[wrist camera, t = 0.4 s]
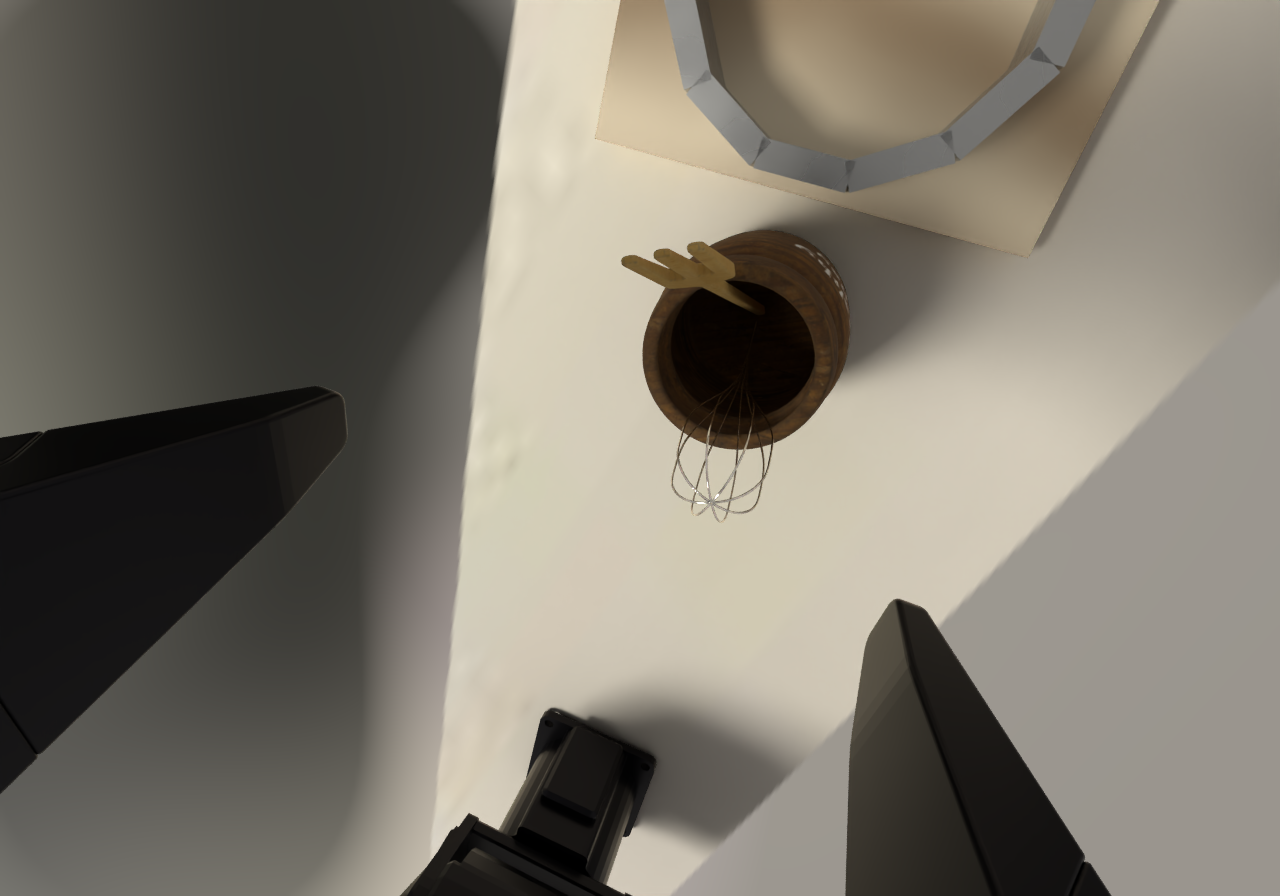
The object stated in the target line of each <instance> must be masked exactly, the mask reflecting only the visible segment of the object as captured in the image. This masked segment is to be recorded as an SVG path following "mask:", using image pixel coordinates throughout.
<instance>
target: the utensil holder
mask: <svg viewBox="0 0 1280 896" xmlns="http://www.w3.org/2000/svg"><path fill="white" fill-rule="evenodd" d="M687 250H688V252H689V253H690V254H691V255H692V256H693V257H692V258H691V259H687V258H685V257H683V256H682V255H680V254H678V253H676V252H674V251H672V250H670V249H659V250H656V251H655V252H654V258H655V259H656V260H657V261H659V262H660V263H662V264H664V265H665V266H667V267H668V268H669V269H668V268H665V267H663V266H660V265H658V264H655V263H653V262H651V261H648V260H646V259H643V258H641V257H638V256H636V255H629V256H625V257H623V258H622V260H621V262H622V265H623V266H624V267H626V268H628V269H630V270H632V271H634V272H636V273H638V274H640V275H642V276H644V277H646V278H648V279H650V280H652V281H654V282H656V283H658V284H660V285H662V286H664V287H666V288H665V289H664V291H663V293H662V295H661V297H660V299H659V301H658V303H657V305H656V306H655V308H654V310H653V312H652V315H651V317H650V320H649V322H648V325H647V328H646V332H645V336H644V341H643V368H644V374H645V378H646V382H647V385H648V387H649V390H650V392H651V395H652V397H653V399H654V400H655V402H656V404H657V405H658V407H659V408H660V410H661V411H662V412H663V414H664V415H665V416H666V417H667V418H668V419H669V420H670V421H671V422H672V423H673V424H674V425H675V426H676V427H677V428H678V429H680V430H681V431H682V433H681V436H680V439H679V443H678V447H677V459H676V462H675V465H674V469H673V472H672V477H671V486H672V489H673V491H674V492H675V494H676V495H677V496H678V497H680V498H681V499H683V500H685V501H688V502H692V504H691V514H692V515H693V516H698V515H700V514H701V513H703V512H704V511H705V510H706V509H707V508H708V507H709V506H710V505H711V507H712V511H713V514H714V516H715V518H716V520H717V521H718V522H719V523H723V522H724V521H725V520H726V518H727V515H728V512H729V513H734V514H744V513H748V512H750V511H752V510H753V509H754V508H755V507H756V506H757V504H758V502H759V499H760V495H761V490H762V485H763V481H764V479H765V478H766V476H767V473H768V470H769V466H770V462H771V457H772V451H773V443H775V442H777V441H780V440H782V439H784V438H786V437H787V436H789V435H791V434H792V433H794V432H795V431H796V430H798V429H799V428H800V427H801V426H802V425H804V424H805V423H806V422H807V421H808V420H809V419H810V418H811V416H812V415H813V414H814V413H815V412H816V411H817V409H818V408H819V407H820V405H821V404H822V402H823V401H824V399H825V398H826V397H827V396H828V394H829V393H830V392H831V390H832V389H833V387H834V386H835V384H836V382H837V380H838V379H839V377H840V374H841V372H842V370H843V367H844V364H845V361H846V358H847V354H848V349H849V342H850V312H849V304H848V298H847V294H846V290H845V287H844V285H843V282H842V280H841V278H840V275H839V274H838V272H837V270H836V269H835V267H834V266H833V264H832V263H831V262H830V260H829V259H828V258H827V257H826V256H825V255H824V254H823V253H822V252H821V251H820V250H819V249H817V248H816V247H815V246H813V245H812V244H810V243H809V242H807V241H805V240H803V239H801V238H799V237H797V236H794V235H791V234H788V233H784V232H779V231H770V230H759V231H750V232H745V233H741V234H737V235H734V236H731V237H728V238H726V239H724V240H721V241H719V242H717V243H714V244H713V245H711V246H708V245H707V244H705V243H704V242H694V243H691V244H689V245H688V246H687ZM683 432H684V433H685V434H687V435H688V437H687V438H686V440H685V441H684V443H683V444H682V447H681V449H680V451H679V447H680V443H681V439H682V436H683ZM689 437H692V438H694V439H696V440H698V441H700V442H703V443H705V444H706V458H705V461H704V463H703V466H702V469H701V472H700V475H699V478H698V481H697V485H696V488H694V487H693V485H692V484H691V483H690V482H689V480H688V479H687V477H686V476H685V474H684V472H683V470H682V468H681V464H680V461H679V456H680V453H681V451H682V448H683V446H684V444H685V443H686V441H687V440H688V438H689ZM770 444H771V452H770V457H769V462H768V466H767V470H766V473H765V475H764V472H765V461H764V453H763V448H762V447H763V446H767V445H770ZM708 445H711V447H710V449H709V451H708ZM713 446H715V447H719V448H725V449H737V452H736V464H735V469H734V470H733V472H732V474H731V476H730V477H729V479H728V480H727V482H726V483H725V485H724V486H723V488H722V489H721V490H720V492H719V493H718V494H717V495H716V497H715V498H714V499H713V500H712V498H711V493H710V487H709V479H708V456H709V453H710V451H711V449H712V447H713ZM759 447H760V448H761V452H762V458H763V473H762V480H761V481H760V482H759V483H758V484H757V485H756V486H755V487H754V488H752V489H751V490H749V491H748V492H746V493H744V494H742V495H740V496H738V497H735V498H732V494H733V490H734V484H735V478H736V471H737V468H738V466H739V464H740V462H741V460H742V457H743V455H744V453H745V450H746V449H753V448H759ZM742 449H744V450H743V452H742V455H741V457H740V459H739V461H738V450H742ZM737 461H738V463H737ZM677 462H678V465H679V468H680V470H681V473H682V474H683V476H684V478H685V480H686V481H687V482H688V484H689V485H690V486H691V487H692V489H693V490H694V491H695V492H694V496H693V500H688V499H686V498H684V497H682V496H680V495H679V494H678V493H677V492H676V490H675V489H674V486H673V476H674V472H675V469H676V465H677ZM705 463H706V480H707V488H708V494H709V499H710V500H709V499H707V498H706V497H704V496H703V495H702V494H701V493H699V492H698V491H697V488H698V484H699V481H700V477H701V474H702V471H703V468H704V466H705ZM733 475H734V480H733V486H732V490H731V495H730V499H728V500H722V501H715V500H716V499H717V497H718V496H719V495H720V494H721V492H722V491H723V490H724V488H725V487H726V486H727V484H728V483H729V481H730V480H731V478H732V476H733ZM760 484H761V486H760V490H759V495H758V499H757V502H756V504H755V505H754V506H753V507H752V508H751V509H749V510H747V511H744V512H734V511H730V510H729V507H730V503H731V501H732V500H735V499H738V498H741V497H743V496H745V495H747V494H749V493H750V492H752V491H753V490H754V489H756V488H757V487H758V486H759V485H760ZM696 493H698V494H699V495H700V496H701V497H702V498H704V499H705V500H706V501H708V502H698V501H694V499H695V495H696ZM728 501H729V504H728V508H727V509H724V508H722V507H720V506H718V505H716V504H715V503H723V502H728ZM711 502H712V503H711ZM693 503H698V504H708V505H707V506H706V507H705V508H704V509H703V510H702V511H701V512H699V513H697V514H694V513H693ZM713 505H714V506H716V507H718V508H720V509H722V510H724V511H727V512H726V515H725V518H724V519H723V520H722V521H720V520H719V519H718V518H717V516H716V513H715V510H714V507H713Z"/></svg>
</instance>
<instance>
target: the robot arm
mask: <svg viewBox="0 0 1280 896" xmlns="http://www.w3.org/2000/svg"><path fill="white" fill-rule="evenodd" d="M347 436H348V434H347V422H346V411H345V402H344V399H343V397H342V395H340V394H339V393H338V392H335V391H332V390H330V389H327V388H324V387H321V386H311V387H304V388H298V389H292V390H286V391H280V392H274V393H268V394H263V395H257V396H250V397H244V398H238V399H232V400H226V401H220V402H214V403H208V404H202V405H196V406H190V407H184V408H178V409H172V410H166V411H160V412H154V413H147V414H141V415H136V416H129V417H123V418H117V419H111V420H106V421H99V422H93V423H87V424H82V425H75V426H69V427H63V428H58V429H51V430H47V431H45V432H44V433H42V432H39V431H38V432H32V433H26V434H20V435H14V436H8V437H2V438H0V794H1V793H2V792H3V791H4V790H5V789H6V788H7V787H8V786H9V785H10V784H11V783H12V782H13V781H14V780H15V779H16V778H17V777H18V776H19V775H20V774H21V773H22V772H23V771H25V770H26V769H27V767H28V766H30V765H31V764H32V763H33V762H34V760H36V759H37V757H38V755H37V754H41V753H43V752H44V751H45V750H46V748H48V747H49V746H50V745H51V744H52V743H53V742H54V741H55V740H56V739H57V738H58V737H59V736H60V735H61V734H62V733H63V732H64V731H65V730H66V729H67V728H68V727H69V726H70V725H72V724H73V723H74V722H75V721H76V720H77V719H78V718H79V717H80V716H81V715H82V714H83V713H84V712H85V711H86V710H87V709H88V708H89V707H90V706H91V705H92V704H93V703H94V702H95V701H96V700H97V699H98V698H99V697H100V696H101V695H102V694H103V693H104V692H106V691H107V690H108V689H109V688H110V687H111V686H112V685H113V684H114V683H115V682H116V681H117V680H118V679H119V678H120V677H121V676H122V675H123V674H124V673H125V672H126V671H127V670H128V669H129V668H130V667H131V666H132V665H133V664H134V663H136V662H137V661H138V660H139V659H140V658H141V657H142V656H143V655H144V654H145V653H146V652H147V651H148V650H149V649H150V648H151V647H152V646H153V645H154V644H155V643H156V642H157V641H158V640H159V639H160V638H161V637H162V636H163V635H164V634H165V633H166V632H168V631H169V630H170V629H171V627H173V626H174V625H175V624H176V623H177V622H178V621H179V620H180V619H181V618H182V617H183V616H184V615H185V614H186V613H187V612H188V611H189V610H190V609H191V608H192V607H193V606H194V605H195V604H196V603H197V602H198V601H199V600H201V599H202V598H203V597H204V596H205V595H206V594H207V593H208V592H209V591H210V590H211V589H212V588H213V587H214V586H215V585H216V584H217V583H218V582H219V581H220V580H221V579H222V578H223V577H224V576H225V575H226V574H227V573H228V572H229V571H230V570H232V568H234V567H235V566H236V565H237V564H238V563H239V562H240V561H241V560H242V559H243V558H244V557H245V556H246V555H247V554H248V553H249V552H250V551H251V550H252V549H253V548H254V547H255V546H256V545H257V544H258V543H259V542H260V541H261V540H262V539H264V538H265V537H266V536H267V535H268V534H269V532H271V531H272V530H273V529H274V528H275V527H276V526H277V525H278V524H279V523H280V522H281V521H282V520H283V519H284V518H285V517H286V516H287V514H288V513H289V512H290V511H291V510H292V509H293V508H294V506H295V505H296V504H297V503H298V502H299V501H300V500H301V498H302V497H303V496H304V495H305V493H306V492H307V491H308V490H309V489H310V488H311V486H312V485H313V484H314V483H315V482H316V480H317V479H318V478H319V477H320V475H322V473H323V472H324V471H325V470H326V468H327V467H328V466H329V465H330V464H331V462H332V461H333V460H334V459H335V458H336V456H337V455H338V454H339V453H340V452H341V451H342V449H343V448H344V446H345V444H346V441H347ZM656 763H657V762H656V759H655V758H654V757H653V756H651V755H650V754H648V753H645V752H643V751H641V750H639V749H636V748H634V747H632V746H630V745H627V744H625V743H623V742H621V741H618V740H616V739H614V738H612V737H609V736H607V735H605V734H603V733H601V732H598V731H596V730H594V729H592V728H589V727H587V726H585V725H583V724H580V723H578V722H576V721H574V720H571V719H569V718H567V717H565V716H562V715H560V714H558V713H556V712H553V711H546V712H545V713H544V714H543V716H542V718H541V720H540V723H539V728H538V732H537V736H536V740H535V744H534V748H533V752H532V756H531V760H530V765H529V769H528V773H527V777H526V780H525V782H524V784H523V785H522V787H521V789H520V791H519V793H518V795H517V797H516V799H515V800H514V802H513V804H512V806H511V808H510V810H509V812H508V813H507V815H506V817H505V819H504V821H503V823H502V825H501V827H500V828H499V830H497V829H495V828H493V827H491V826H489V825H487V824H485V823H483V822H481V821H479V818H478V817H476V816H474V815H472V814H470V813H469V814H468V815H467V816H466V818H465V819H464V820H463V822H462V823H461V825H460V826H459V827H457V826H456V827H455V828H454V829H453V830H451V831H450V832H449V834H448V836H447V837H446V839H445V841H444V842H443V844H442V845H441V847H440V849H439V850H438V852H437V853H436V855H435V856H434V858H433V859H432V860H431V862H430V863H429V864H428V866H427V867H426V868H425V869H424V871H423V872H422V873H421V874H420V875H419V876H418V877H417V878H416V879H415V880H414V881H413V883H411V884H410V886H409V887H408V888H407V889H406V890H405V891H404V892H403V893H402V894H401V895H400V896H632V895H630V894H628V893H626V892H625V894H623V893H621V892H619V891H617V890H615V889H613V888H611V887H609V886H607V885H606V884H607V881H608V878H609V875H610V873H611V870H612V867H613V864H614V861H615V858H616V855H617V852H618V849H619V846H620V843H621V840H622V837H627V836H629V835H630V833H631V830H632V828H633V825H634V822H635V820H636V817H637V815H638V812H639V809H640V807H641V804H642V802H643V799H644V797H645V794H646V791H647V789H648V786H649V784H650V781H651V778H652V776H653V773H654V770H655V767H656ZM848 791H849V792H848V825H847V859H846V896H1111V894H1110V893H1109V891H1108V890H1107V888H1106V887H1105V885H1104V884H1103V882H1102V881H1101V879H1100V878H1099V876H1098V875H1097V873H1096V871H1095V870H1094V868H1093V867H1092V865H1091V864H1090V863H1088V862H1084V860H1085V855H1084V853H1083V852H1082V850H1081V849H1080V847H1079V846H1078V844H1077V842H1076V841H1075V839H1074V838H1073V836H1072V835H1071V833H1070V832H1069V830H1068V829H1067V827H1066V826H1065V824H1064V822H1063V821H1062V819H1061V818H1060V816H1059V815H1058V813H1057V812H1056V810H1055V808H1054V807H1053V805H1052V804H1051V802H1050V801H1049V799H1048V798H1047V796H1046V795H1045V793H1044V791H1043V790H1042V788H1041V787H1040V785H1039V784H1038V782H1037V781H1036V779H1035V778H1034V776H1033V775H1032V773H1031V771H1030V770H1029V768H1028V767H1027V765H1026V764H1025V762H1024V761H1023V759H1022V757H1021V756H1020V754H1019V753H1018V752H1017V750H1016V748H1015V747H1014V745H1013V744H1012V742H1011V740H1010V739H1009V737H1008V736H1007V734H1006V733H1005V731H1004V730H1003V728H1002V727H1001V725H1000V724H999V722H998V720H997V719H996V717H995V716H994V714H993V713H992V711H991V710H990V708H989V707H988V705H987V704H986V702H985V700H984V699H983V698H982V696H981V694H980V693H979V691H978V690H977V688H976V687H975V685H974V683H973V682H972V680H971V679H970V677H969V676H968V674H967V673H966V671H965V669H964V668H963V666H962V665H961V663H960V662H959V660H958V659H957V657H956V656H955V654H954V653H953V651H952V649H951V648H950V646H949V645H948V643H947V642H946V640H945V639H944V637H943V636H942V634H941V632H940V631H939V629H938V628H937V626H936V625H935V623H934V622H933V620H932V618H931V617H930V615H929V614H928V612H927V611H926V610H925V609H924V608H922V607H920V606H918V605H915V604H912V603H910V602H907V601H904V600H901V599H894V600H893V601H892V602H890V604H889V605H888V606H887V608H886V610H885V611H884V613H883V614H882V616H881V617H880V619H879V620H878V622H877V623H876V625H875V627H874V628H873V630H872V631H871V633H870V635H869V637H868V639H867V642H866V646H865V650H864V657H863V664H862V670H861V677H860V683H859V690H858V696H857V703H856V709H855V716H854V723H853V729H852V737H851V744H850V761H849V790H848Z"/></svg>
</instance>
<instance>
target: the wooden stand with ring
mask: <svg viewBox="0 0 1280 896" xmlns="http://www.w3.org/2000/svg"><path fill="white" fill-rule="evenodd" d="M1158 2H1159V0H621V1H620V6H619V12H618V17H617V23H616V28H615V33H614V39H613V44H612V49H611V55H610V60H609V65H608V71H607V76H606V82H605V87H604V92H603V98H602V103H601V108H600V114H599V119H598V124H597V130H596V135H595V139H597V140H601V141H605V142H608V143H612V144H616V145H619V146H623V147H626V148H630V149H634V150H637V151H641V152H645V153H648V154H652V155H655V156H659V157H663V158H666V159H670V160H674V161H677V162H681V163H685V164H688V165H692V166H695V167H699V168H703V169H706V170H710V171H714V172H717V173H721V174H724V175H728V176H732V177H735V178H739V179H743V180H746V181H750V182H754V183H757V184H761V185H764V186H768V187H772V188H775V189H779V190H783V191H786V192H790V193H793V194H797V195H801V196H804V197H808V198H812V199H815V200H819V201H823V202H826V203H830V204H833V205H837V206H841V207H844V208H848V209H852V210H855V211H859V212H862V213H866V214H870V215H873V216H877V217H881V218H884V219H888V220H891V221H895V222H899V223H902V224H906V225H910V226H913V227H917V228H921V229H924V230H928V231H931V232H935V233H939V234H942V235H946V236H950V237H953V238H957V239H960V240H964V241H968V242H971V243H975V244H979V245H982V246H986V247H990V248H993V249H997V250H1000V251H1004V252H1008V253H1011V254H1015V255H1019V256H1022V257H1026V258H1028V257H1029V255H1030V253H1031V251H1032V249H1033V247H1034V246H1035V244H1036V242H1037V240H1038V238H1039V236H1040V234H1041V232H1042V230H1043V228H1044V226H1045V224H1046V222H1047V220H1048V218H1049V216H1050V214H1051V212H1052V210H1053V208H1054V206H1055V204H1056V202H1057V200H1058V198H1059V197H1060V195H1061V193H1062V191H1063V189H1064V187H1065V185H1066V183H1067V181H1068V179H1069V177H1070V175H1071V173H1072V171H1073V169H1074V167H1075V165H1076V163H1077V161H1078V159H1079V157H1080V155H1081V153H1082V151H1083V149H1084V148H1085V146H1086V144H1087V142H1088V140H1089V138H1090V136H1091V134H1092V132H1093V130H1094V128H1095V126H1096V124H1097V122H1098V120H1099V118H1100V116H1101V114H1102V112H1103V110H1104V108H1105V106H1106V104H1107V102H1108V100H1109V98H1110V97H1111V95H1112V93H1113V91H1114V89H1115V87H1116V85H1117V83H1118V81H1119V79H1120V77H1121V75H1122V73H1123V71H1124V69H1125V67H1126V65H1127V63H1128V61H1129V59H1130V57H1131V55H1132V53H1133V51H1134V49H1135V48H1136V46H1137V44H1138V42H1139V40H1140V38H1141V36H1142V34H1143V32H1144V30H1145V28H1146V26H1147V24H1148V22H1149V20H1150V18H1151V16H1152V14H1153V12H1154V10H1155V8H1156V6H1157V4H1158Z"/></svg>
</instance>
